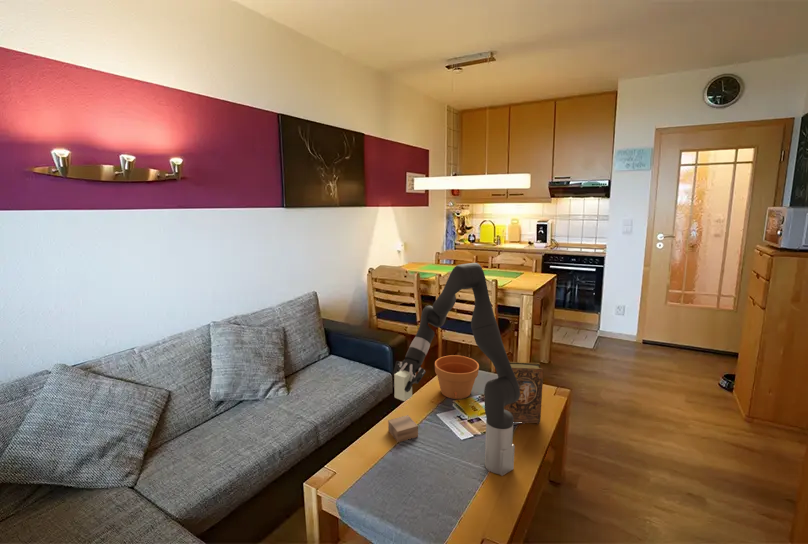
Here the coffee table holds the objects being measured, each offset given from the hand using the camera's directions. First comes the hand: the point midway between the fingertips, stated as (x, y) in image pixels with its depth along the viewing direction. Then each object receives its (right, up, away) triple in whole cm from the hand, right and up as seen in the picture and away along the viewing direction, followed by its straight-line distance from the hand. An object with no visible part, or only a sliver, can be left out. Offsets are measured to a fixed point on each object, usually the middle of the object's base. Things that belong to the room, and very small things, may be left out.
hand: (400, 389), depth 161 cm
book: (+51, -17, +14) cm, 56 cm away
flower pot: (+27, -13, +39) cm, 49 cm away
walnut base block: (+1, -20, +5) cm, 21 cm away
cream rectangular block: (+1, -4, +2) cm, 5 cm away
